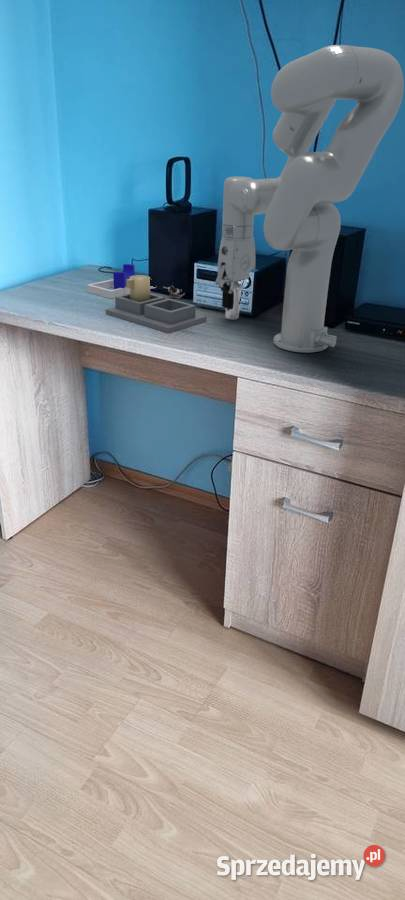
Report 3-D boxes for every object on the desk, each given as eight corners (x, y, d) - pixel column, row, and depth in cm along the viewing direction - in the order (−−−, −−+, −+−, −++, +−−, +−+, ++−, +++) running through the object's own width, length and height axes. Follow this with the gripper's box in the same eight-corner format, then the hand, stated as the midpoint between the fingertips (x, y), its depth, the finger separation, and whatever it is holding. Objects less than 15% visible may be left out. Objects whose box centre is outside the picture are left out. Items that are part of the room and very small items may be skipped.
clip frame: (156, 287, 196) (156, 280, 195) (110, 298, 184) (110, 291, 183) (132, 281, 201) (132, 274, 201) (87, 291, 189) (86, 284, 188)
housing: (206, 321, 168) (207, 284, 163) (168, 333, 158) (168, 294, 154) (144, 303, 180) (144, 269, 176) (105, 313, 170) (104, 277, 166)
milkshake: (236, 322, 167) (238, 282, 163) (219, 318, 170) (221, 279, 166) (246, 318, 171) (249, 279, 166) (229, 314, 174) (231, 276, 169)
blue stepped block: (120, 283, 198) (119, 263, 195) (134, 284, 197) (134, 264, 195) (108, 293, 187) (108, 272, 185) (124, 294, 187) (123, 273, 184)
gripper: (228, 237, 153) (224, 315, 161) (270, 230, 164) (265, 302, 173) (203, 233, 157) (201, 309, 165) (246, 226, 169) (242, 297, 177)
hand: (233, 305), depth 169 cm, fingers closed on milkshake, 4 cm apart
